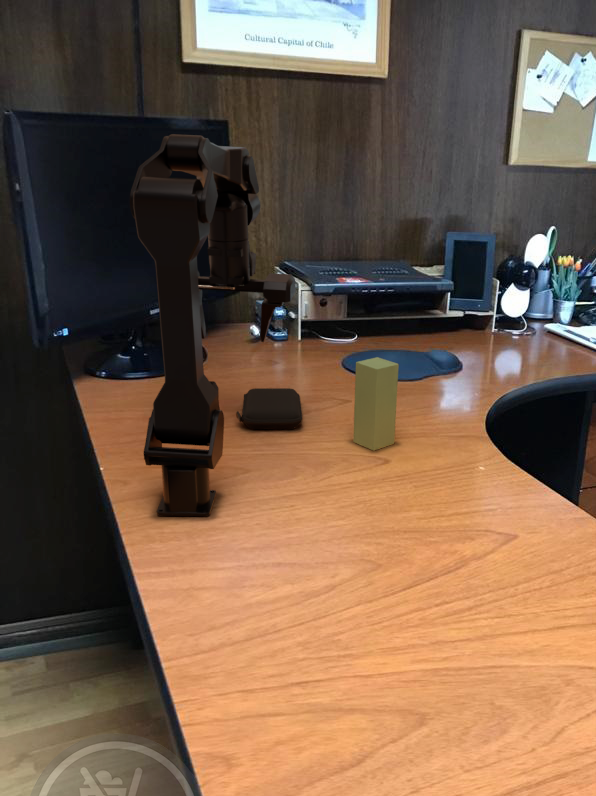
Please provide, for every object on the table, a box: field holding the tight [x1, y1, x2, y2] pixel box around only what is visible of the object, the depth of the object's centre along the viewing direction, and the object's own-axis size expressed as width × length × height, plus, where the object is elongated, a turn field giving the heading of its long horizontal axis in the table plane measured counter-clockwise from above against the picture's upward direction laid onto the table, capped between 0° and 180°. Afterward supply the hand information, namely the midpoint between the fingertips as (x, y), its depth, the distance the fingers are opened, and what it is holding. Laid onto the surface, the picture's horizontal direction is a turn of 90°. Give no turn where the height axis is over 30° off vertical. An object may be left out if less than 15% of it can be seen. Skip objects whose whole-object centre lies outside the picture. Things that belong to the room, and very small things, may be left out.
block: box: [352, 356, 400, 452], centre depth 118 cm, size 5×5×13 cm
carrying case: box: [235, 387, 303, 430], centre depth 129 cm, size 11×3×15 cm
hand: (233, 339), depth 119 cm, fingers open, 9 cm apart
